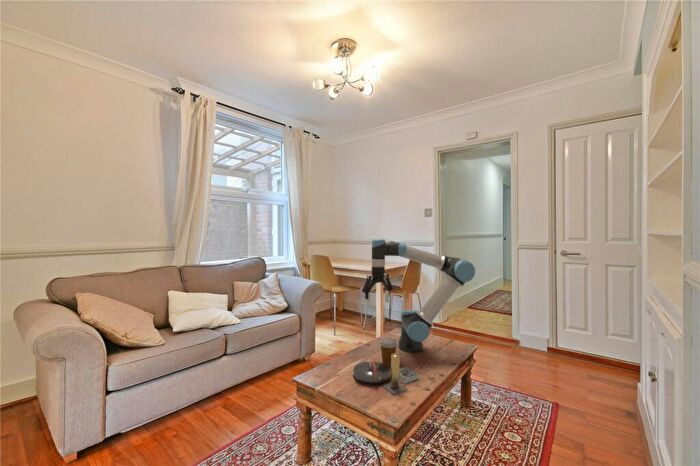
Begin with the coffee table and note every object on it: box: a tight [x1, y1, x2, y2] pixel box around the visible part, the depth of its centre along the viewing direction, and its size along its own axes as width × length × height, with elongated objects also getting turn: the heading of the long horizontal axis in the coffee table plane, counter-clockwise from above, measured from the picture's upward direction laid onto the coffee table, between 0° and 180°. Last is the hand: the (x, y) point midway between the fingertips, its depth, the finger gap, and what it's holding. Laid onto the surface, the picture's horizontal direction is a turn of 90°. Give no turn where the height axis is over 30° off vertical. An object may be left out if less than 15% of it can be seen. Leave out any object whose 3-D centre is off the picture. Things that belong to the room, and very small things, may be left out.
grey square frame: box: [399, 366, 420, 385], centre depth 148 cm, size 9×9×2 cm
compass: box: [353, 361, 391, 384], centre depth 148 cm, size 18×18×7 cm
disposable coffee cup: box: [379, 337, 398, 366], centre depth 163 cm, size 10×10×12 cm
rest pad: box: [382, 382, 408, 396], centre depth 138 cm, size 8×8×1 cm
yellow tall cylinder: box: [390, 352, 401, 390], centre depth 137 cm, size 4×4×15 cm
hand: (377, 303), depth 170 cm, fingers open, 13 cm apart
